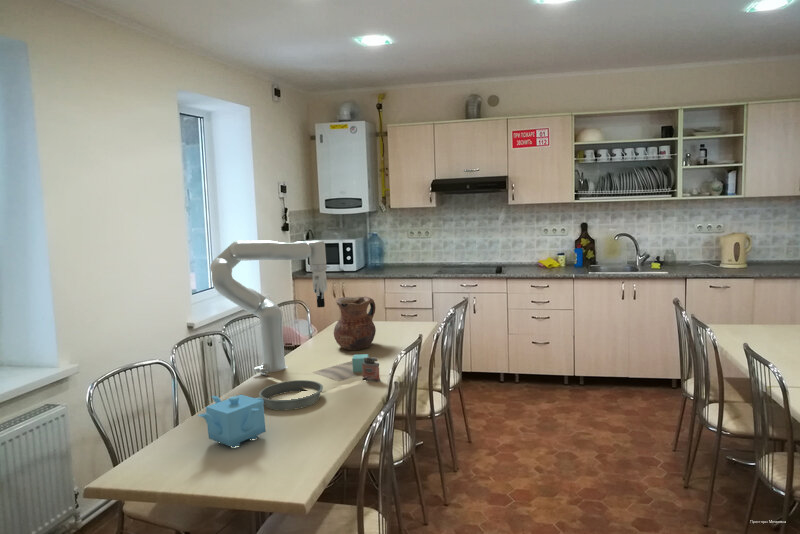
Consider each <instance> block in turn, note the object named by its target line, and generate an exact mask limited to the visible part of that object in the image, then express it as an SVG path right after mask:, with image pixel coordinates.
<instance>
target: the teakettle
mask: <svg viewBox="0 0 800 534" xmlns="http://www.w3.org/2000/svg"><path fill="white" fill-rule="evenodd" d="M211 398H212V399H213V401H214V403H213V404H210V405H207V406H205V412H204V413H200V414H197V416H198V417H201V418H203V419H204V420H205V422H206V426H207V435H208V439H209V440H212V441H215V442H217V443H218V442H220V443H221V444H222V445H225V446H228V447H230V448H231V446H232V447H235V446H239V445H240V446H241V443H242V442H245V441H247V440H249V439H251V440H252V439H256V438H257V437H258V435H261V434H263V433H266V431H267V430H266V422H265V421H266V420H265V408H264V400H263V399H262V398H261V397H251V396H247V395H243V394H239V395H235V396H230V397H229V398H227V399H225V400H221V398H220V397H219V396H216V395H212V396H211Z"/></svg>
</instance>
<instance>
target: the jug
mask: <svg viewBox="0 0 800 534" xmlns="http://www.w3.org/2000/svg"><path fill="white" fill-rule="evenodd" d="M335 303H336V304H337V305H338V308H339V310H340V319H338V321H337V323H336V324H335V325H334V328H333V337H334V340H335V341H336V343H337V345H339V347H340V348H342V349H344V350H347V351H358V350H359V351H360V350H364V349H367V348H369V347H371V344H372V343H373V342H374V340H375V337H376V331H377V330H376V329H377V328H376V325H375V323H374V321H373V318H374V315H375V313H376V303H375V300H374V299H373V298H371V297H369V296H355V297H352V296H344V297H343V296H342V297H339V298H338V299H337V300H336V302H335ZM369 305H370V307H369ZM368 307H369V310H368Z"/></svg>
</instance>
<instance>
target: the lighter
mask: <svg viewBox="0 0 800 534" xmlns="http://www.w3.org/2000/svg"><path fill="white" fill-rule="evenodd" d="M364 361H365V362H362V370H363V374H362V377H363V378H362V381H364V380H366V381H365V382H369V381H375V382H374V383H379V382H381V377H380V362H378V358H377V357H371V356H369V357H364ZM366 361H367V362H366Z"/></svg>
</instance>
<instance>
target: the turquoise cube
mask: <svg viewBox="0 0 800 534" xmlns="http://www.w3.org/2000/svg"><path fill="white" fill-rule="evenodd" d="M364 357H370V356H369V353H368V354H367V353H365V354H364V353H363V354H353V356H352V358H351V361H352V365H353V372H363V370H362V362H365V361H364ZM366 362H367V361H366Z"/></svg>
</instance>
